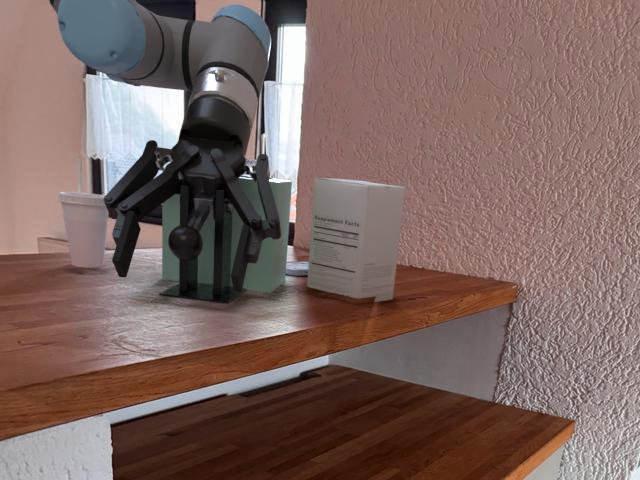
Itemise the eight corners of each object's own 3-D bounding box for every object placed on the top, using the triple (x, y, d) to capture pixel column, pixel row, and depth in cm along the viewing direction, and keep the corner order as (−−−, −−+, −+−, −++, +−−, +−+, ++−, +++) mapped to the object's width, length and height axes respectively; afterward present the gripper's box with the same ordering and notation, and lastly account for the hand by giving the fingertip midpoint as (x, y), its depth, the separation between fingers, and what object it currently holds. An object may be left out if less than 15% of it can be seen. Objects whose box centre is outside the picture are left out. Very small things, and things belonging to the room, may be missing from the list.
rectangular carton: (342, 289, 107) (353, 179, 101) (394, 300, 102) (408, 186, 96) (303, 293, 100) (312, 175, 94) (356, 306, 95) (369, 183, 89)
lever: (199, 268, 77) (196, 237, 75) (165, 264, 77) (161, 233, 75) (226, 215, 86) (224, 185, 83) (196, 211, 86) (193, 181, 83)
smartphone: (348, 268, 123) (295, 270, 110) (347, 274, 123) (294, 278, 111) (312, 261, 126) (257, 262, 114) (311, 267, 126) (256, 269, 114)
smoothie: (68, 266, 99) (63, 154, 93) (117, 271, 100) (115, 160, 94) (56, 274, 93) (49, 154, 87) (108, 279, 94) (105, 161, 88)
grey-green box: (271, 300, 93) (278, 181, 87) (160, 286, 93) (161, 166, 87) (285, 287, 103) (293, 179, 97) (186, 275, 103) (188, 166, 98)
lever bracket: (227, 312, 83) (232, 192, 78) (158, 303, 83) (158, 183, 78) (246, 298, 92) (251, 190, 87) (184, 290, 92) (185, 182, 87)
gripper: (106, 81, 81) (51, 238, 73) (321, 107, 80) (289, 267, 72) (125, 136, 88) (76, 284, 80) (322, 159, 87) (293, 311, 79)
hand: (177, 276), depth 76 cm, fingers open, 12 cm apart
